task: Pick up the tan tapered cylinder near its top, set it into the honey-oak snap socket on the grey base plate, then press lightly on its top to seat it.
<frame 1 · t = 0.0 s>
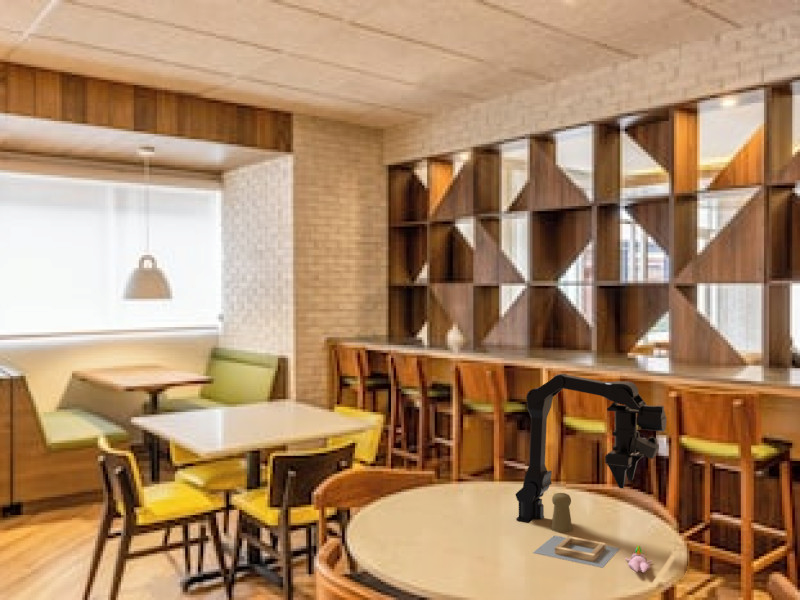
hand: (626, 484, 189), 15 cm above the table, fingers open, 9 cm apart
grey base plate: (576, 554, 177), on the table
snap socket: (580, 551, 176), resting on grey base plate
tan tapered cylinder: (561, 533, 193), on the table
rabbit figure: (639, 572, 166), on the table
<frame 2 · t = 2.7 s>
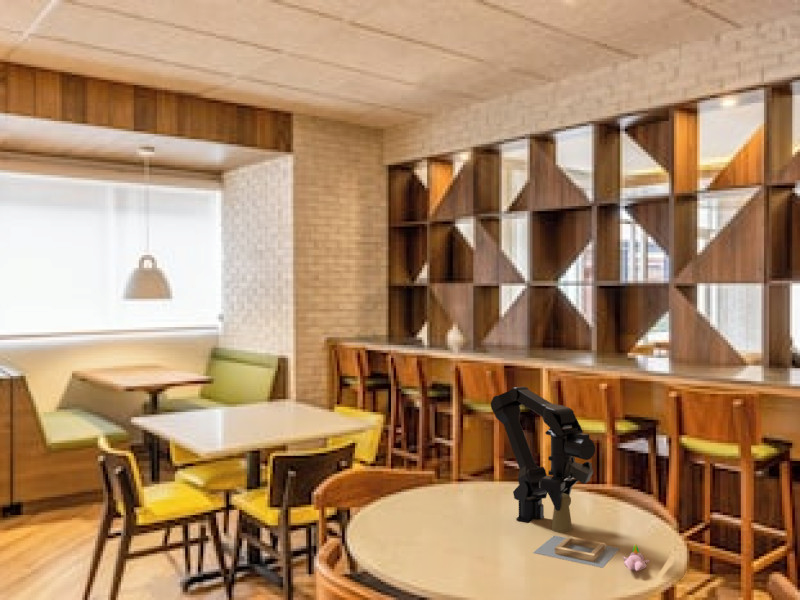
hand: (561, 507, 193), 7 cm above the table, fingers closed on tan tapered cylinder, 5 cm apart
tan tapered cylinder: (561, 533, 193), on the table, touching gripper
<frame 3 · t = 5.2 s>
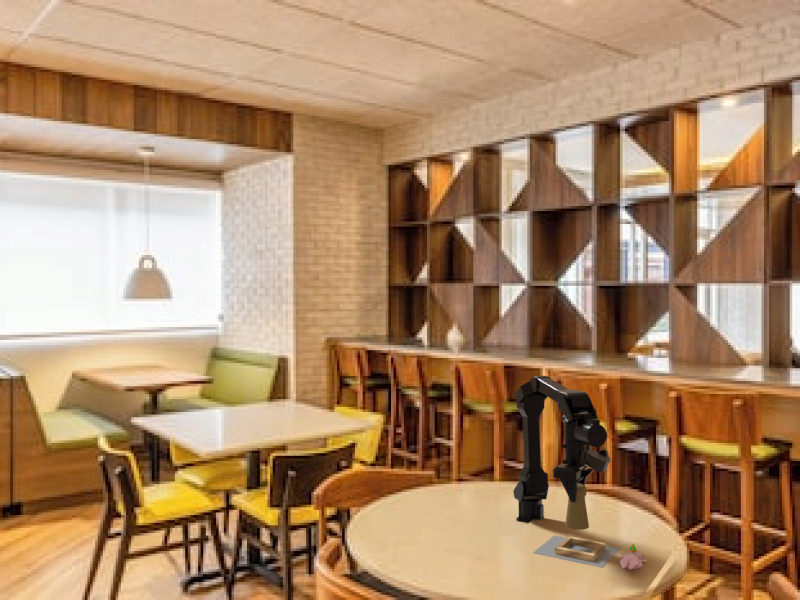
hand: (576, 499, 179), 13 cm above the table, fingers closed on tan tapered cylinder, 5 cm apart
tan tapered cylinder: (577, 526, 179), point 6 cm above the table, touching gripper
when the fingers open (9 cm above the table, at t = 7.6 s): tan tapered cylinder stays where it is, resting on grey base plate.
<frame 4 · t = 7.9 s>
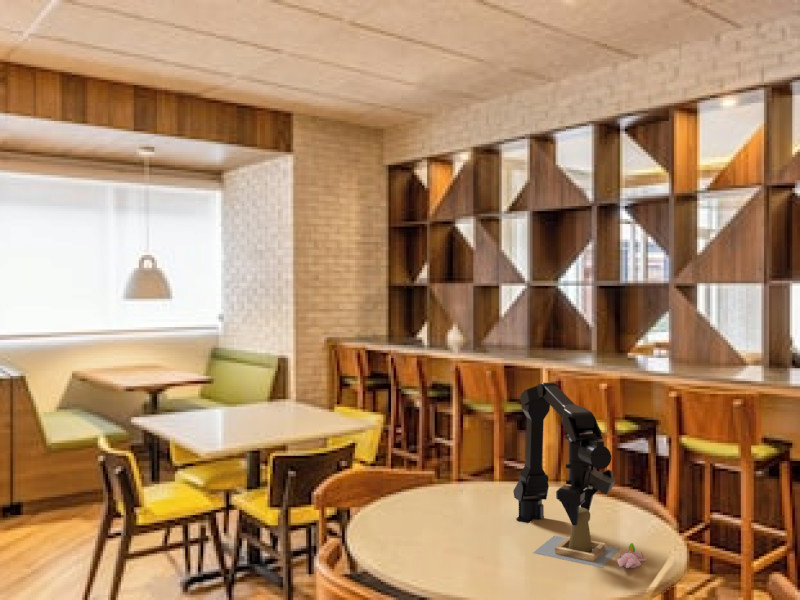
hand: (580, 520, 176), 9 cm above the table, fingers open, 8 cm apart
tan tapered cylinder: (580, 551, 176), point 1 cm above the table, touching grey base plate
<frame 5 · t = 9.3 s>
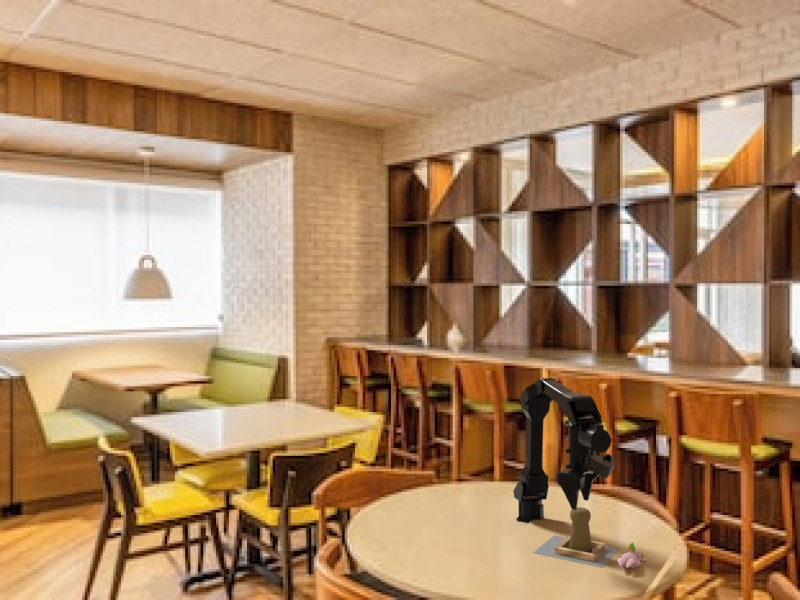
hand: (580, 504, 176), 13 cm above the table, fingers open, 9 cm apart
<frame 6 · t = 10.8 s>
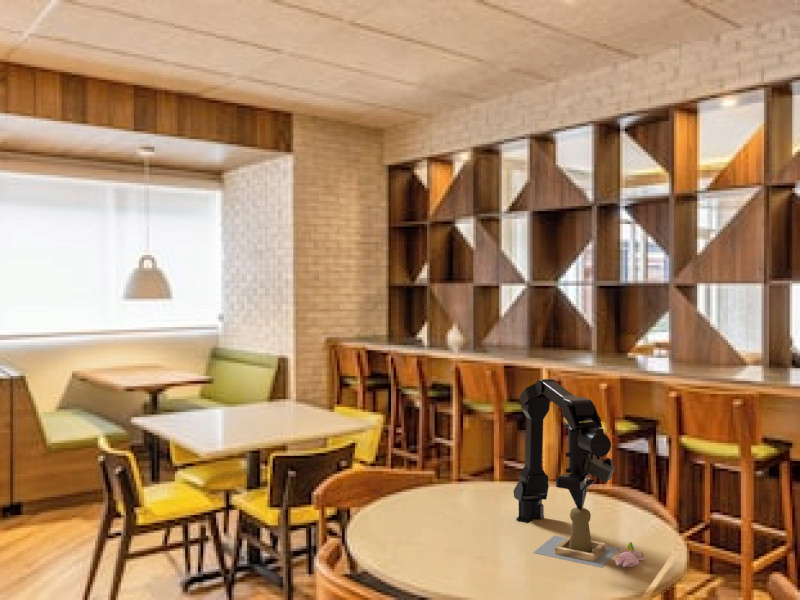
hand: (580, 508, 176), 12 cm above the table, fingers closed, pressing on tan tapered cylinder
tan tapered cylinder: (580, 551, 176), point 1 cm above the table, touching grey base plate, gripper
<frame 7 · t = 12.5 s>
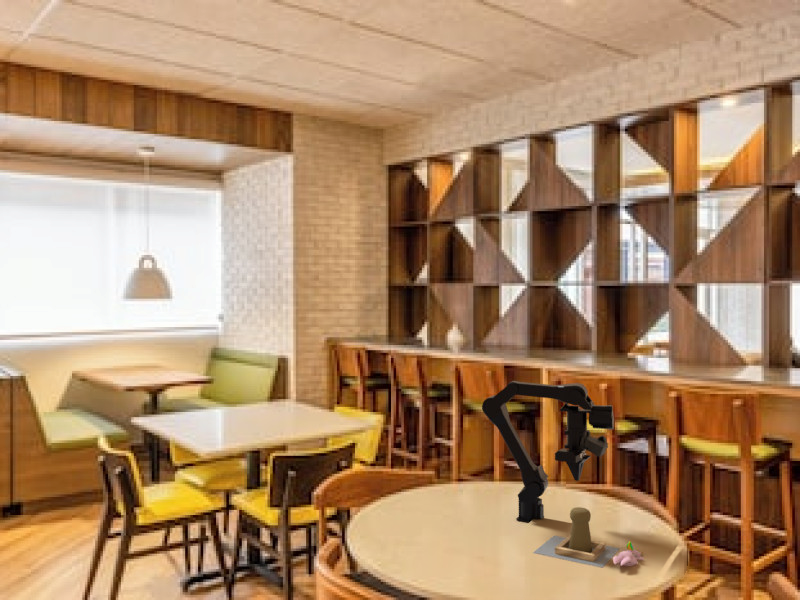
hand: (577, 480, 199), 13 cm above the table, fingers closed
tan tapered cylinder: (580, 551, 176), point 1 cm above the table, touching grey base plate
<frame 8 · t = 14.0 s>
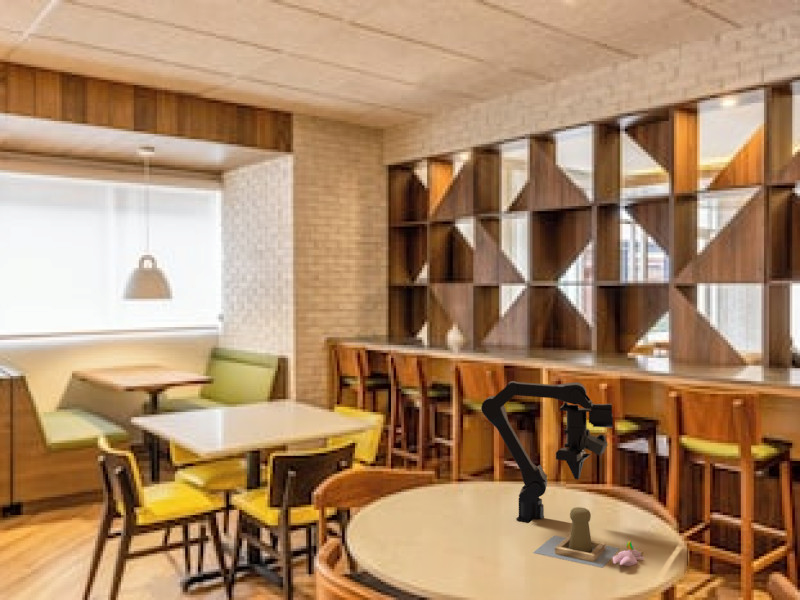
hand: (577, 479, 200), 13 cm above the table, fingers closed
at the end: tan tapered cylinder 0.1 cm off-centre on the snap socket, point 0.0 cm above the snap socket's base; tan tapered cylinder tilted 0°; the gripper is holding nothing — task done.
